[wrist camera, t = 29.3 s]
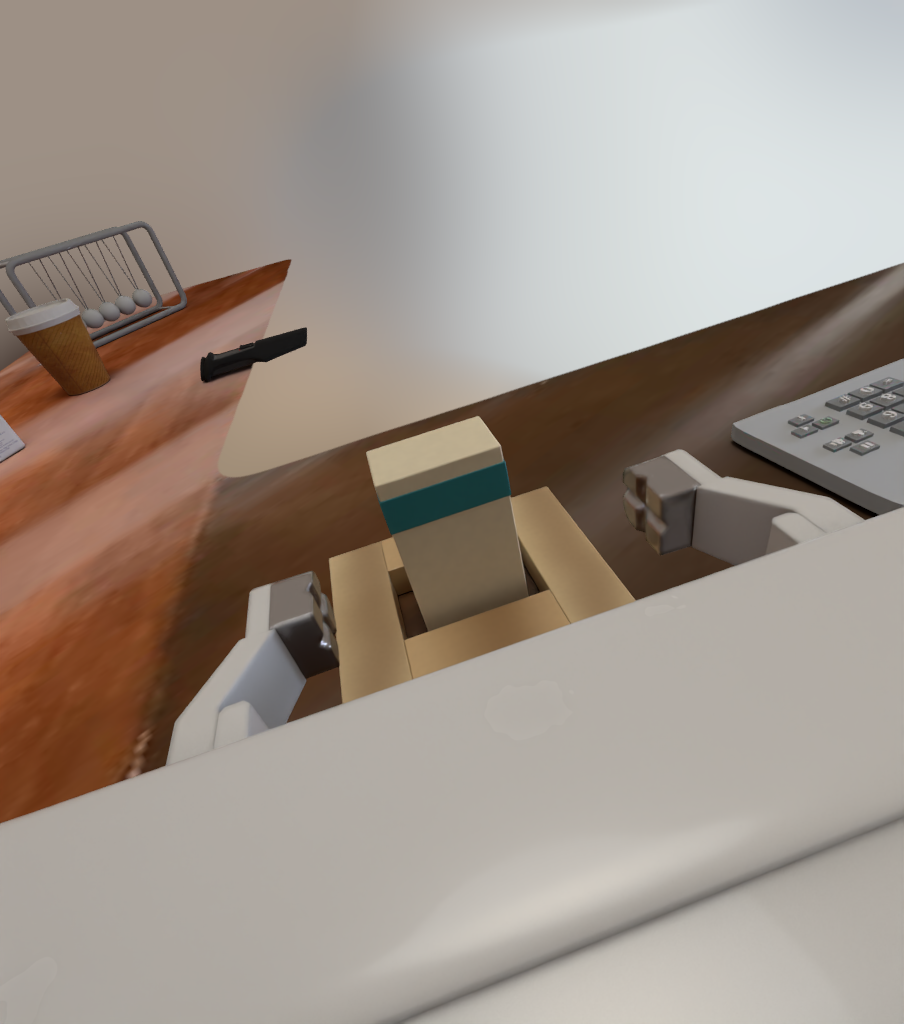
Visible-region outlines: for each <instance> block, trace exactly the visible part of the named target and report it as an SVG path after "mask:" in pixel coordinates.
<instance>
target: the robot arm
mask: <svg viewBox="0 0 904 1024" xmlns="http://www.w3.org/2000/svg"><path fill="white" fill-rule="evenodd" d="M623 483H624V484H625V485H626V486H627V487H628V489H627V491H626V492H625V494H624V496H623V505H624V510H625V513H626V516H627V518H628V520H629V522H630V523H631V525H632V526H633V527H634V528H635V529H636V530H639V531H642V532H645V533H646V541H647V542H648V543H649V544H650V545H651V546H652V547H653V548H654V549H655V551H656V552H657V553H658V554H659V555H660V556H661V555H664V554H667V553H670V552H673V551H677V550H680V549H683V548H686V547H689V546H692V547H693V548H695V549H697V550H700V551H702V552H704V553H707V554H709V555H712V556H714V557H716V558H719V559H721V560H723V561H726V562H728V563H731V564H733V565H735V566H734V567H731V568H728V569H725V570H723V571H720V572H717V573H714V574H711V575H708V576H706V577H703V578H700V579H697V580H694V581H691V582H688V583H686V584H683V585H680V586H677V587H674V588H671V589H668V590H666V591H663V592H660V593H657V594H654V595H651V596H648V597H646V598H643V599H640V600H637V601H634V602H631V603H628V604H626V605H623V606H620V607H617V608H614V609H611V610H608V611H606V612H603V613H600V614H597V615H594V616H591V617H588V618H586V619H583V620H580V621H577V622H574V623H571V624H569V625H566V626H563V627H560V628H557V629H554V630H552V631H549V632H546V633H543V634H540V635H537V636H535V637H532V638H529V639H526V640H523V641H520V642H518V643H515V644H512V645H509V646H506V647H503V648H501V649H498V650H495V651H492V652H489V653H486V654H483V655H481V656H478V657H475V658H472V659H469V660H466V661H463V662H461V663H458V664H455V665H452V666H449V667H446V668H444V669H441V670H438V671H435V672H432V673H429V674H426V675H424V676H421V677H418V678H415V679H412V680H409V681H406V682H404V683H401V684H398V685H395V686H392V687H389V688H387V689H384V690H381V691H378V692H375V693H372V694H369V695H367V696H364V697H361V698H358V699H355V700H352V701H349V702H347V703H344V704H341V705H338V706H335V707H332V708H329V709H327V710H324V711H321V712H318V713H315V714H312V715H310V716H307V717H304V718H301V719H298V720H295V721H292V722H290V723H287V724H286V722H287V720H288V718H289V716H290V714H291V712H292V710H293V707H294V705H295V703H296V701H297V699H298V697H299V695H300V693H301V691H302V689H303V687H304V685H305V683H306V679H307V678H309V677H312V676H315V675H317V674H320V673H323V672H325V671H328V670H331V669H333V668H336V667H339V666H340V659H339V648H338V643H337V641H336V639H335V638H334V635H335V633H336V632H337V628H336V621H335V617H334V613H333V609H332V607H331V604H330V602H329V600H328V598H327V596H326V595H325V594H323V593H321V589H320V582H319V580H318V578H317V576H316V574H315V573H314V572H313V571H310V572H306V573H303V574H300V575H297V576H293V577H290V578H287V579H283V580H280V581H277V582H274V583H272V584H268V585H265V586H261V587H258V588H255V589H252V591H251V592H250V594H249V604H248V614H247V624H246V634H245V639H242V640H239V641H238V643H237V644H236V645H235V646H234V648H233V649H232V650H231V652H230V653H229V654H228V655H227V657H226V658H225V659H224V660H223V662H222V663H221V664H220V666H219V667H218V668H217V669H216V671H215V672H214V673H213V674H212V676H211V677H210V678H209V680H208V681H207V682H206V683H205V685H204V686H203V687H202V688H201V690H200V691H199V692H198V694H197V695H196V696H195V697H194V699H193V700H192V701H191V703H190V704H189V705H188V706H187V708H186V709H185V710H184V711H183V713H182V714H181V715H180V717H179V718H178V719H177V720H176V722H175V724H174V729H173V734H172V739H171V743H170V748H169V753H168V758H167V763H166V766H164V767H161V768H158V769H155V770H153V771H150V772H147V773H144V774H141V775H138V776H136V777H133V778H130V779H127V780H124V781H121V782H118V783H116V784H113V785H110V786H107V787H104V788H101V789H98V790H96V791H93V792H90V793H87V794H84V795H81V796H78V797H76V798H73V799H70V800H67V801H64V802H61V803H59V804H56V805H53V806H50V807H47V808H44V809H41V810H39V811H36V812H33V813H30V814H27V815H24V816H21V817H18V818H15V819H12V820H9V821H6V822H3V823H0V1024H904V507H902V508H899V509H896V510H893V511H890V512H887V513H885V514H882V515H879V516H876V517H873V518H870V519H868V520H864V519H863V518H861V517H859V516H858V515H856V514H855V513H853V512H852V511H850V510H848V509H847V508H845V507H844V506H842V505H840V504H839V503H837V502H836V501H834V500H833V499H831V498H829V497H825V496H820V495H815V494H810V493H805V492H800V491H795V490H791V489H786V488H781V487H776V486H771V485H766V484H761V483H756V482H751V481H746V480H741V479H736V478H731V477H725V478H721V477H719V476H718V475H717V474H715V473H714V472H713V471H711V470H710V469H709V468H707V467H706V466H704V465H703V464H702V463H700V462H699V461H698V460H696V459H695V458H694V457H692V456H691V455H690V454H688V453H687V452H685V451H684V450H680V449H679V450H676V451H673V452H670V453H667V454H665V455H662V456H660V457H658V458H655V459H652V460H649V461H646V462H643V463H640V464H637V465H634V466H631V467H628V468H625V469H624V472H623Z"/></svg>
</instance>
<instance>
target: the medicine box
mask: <svg viewBox="0 0 904 1024" xmlns="http://www.w3.org/2000/svg"><path fill="white" fill-rule="evenodd" d="M24 446H25V444H24V443H23V442H22V440H21V439H20V438H19V437H18V436H17V434H16V433H15V432H14V431H13V430H12V428H11V427H10V426H9V425H8V424H7V422H6V421H5V420H4V419H3V418H2V416H1V415H0V462H1V461H2V460H4V459H6V458H7V457H9V456H11V455H12V454H14V453H15V452H17V451H19V450H20V449H22V448H24Z"/></svg>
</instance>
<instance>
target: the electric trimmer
mask: <svg viewBox="0 0 904 1024" xmlns="http://www.w3.org/2000/svg"><path fill="white" fill-rule="evenodd" d="M306 343H307V328H301V329H298V330H294V331H290V332H287V333H283V334H280V335H276V336H273V337H269V338H265V339H262V340H258V341H256V342H255V343H254V344H253V343H250V344H246V345H241V346H240V348H237V349H234V350H231V351H228V352H224V353H221V354H213V353H211V352H210V353H208V356H207V357H206V358H205V357H202V359H201V368H200V370H201V380H202V381H204V380H207V381H210V379H211V377H212V376H215V375H218V374H221V373H224V372H228V371H231V370H234V369H237V368H240V367H243V366H246V365H249V364H252V363H255V362H268V361H270V360H272V359H274V358H277V357H279V356H281V355H284V354H286V353H289V352H291V351H294V350H296V349H298V348H301V347H303V346H305V345H306Z"/></svg>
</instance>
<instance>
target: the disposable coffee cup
mask: <svg viewBox="0 0 904 1024" xmlns="http://www.w3.org/2000/svg"><path fill="white" fill-rule="evenodd" d="M78 309H79V307H78V306H76V305H75V304H74V303H73V302H72V301H71V300H70V299H61V300H57V301H53V302H49V303H46V304H43V305H39V306H36V307H33V308H30V309H27V310H25V311H22V312H20V313H17V314H15V315H12V316H10V317H8V318H7V319H6V320H5V321H6V323H7V325H8V328H9V329H8V331H9V332H12V333H13V335H15V336H17V337H18V338H19V339H20V341H21V342H22V343H23V344H24V345H25V346H26V347H27V348H28V350H29V351H30V352H31V353H32V354H33V355H34V356H35V358H36V359H37V360H38V361H39V362H40V363H41V364H42V365H43V366H44V368H45V369H46V370H47V371H48V372H49V373H50V374H51V375H52V377H53V378H54V379H55V380H56V381H57V382H58V383H59V384H60V385H61V387H62V388H63V389H64V390H65V391H66V392H67V393H68V395H78V394H82V393H85V392H88V391H91V390H94V389H96V388H98V387H100V386H102V385H103V384H105V383H107V382H108V381H109V380H110V377H109V375H108V373H107V371H106V369H105V367H104V364H103V362H102V360H101V358H100V356H99V354H98V352H97V350H96V348H95V346H94V344H93V341H92V340H91V337H90V335H89V333H88V331H87V329H86V327H85V325H84V323H83V321H82V319H81V317H80V315H79V313H80V312H79V310H78Z"/></svg>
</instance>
